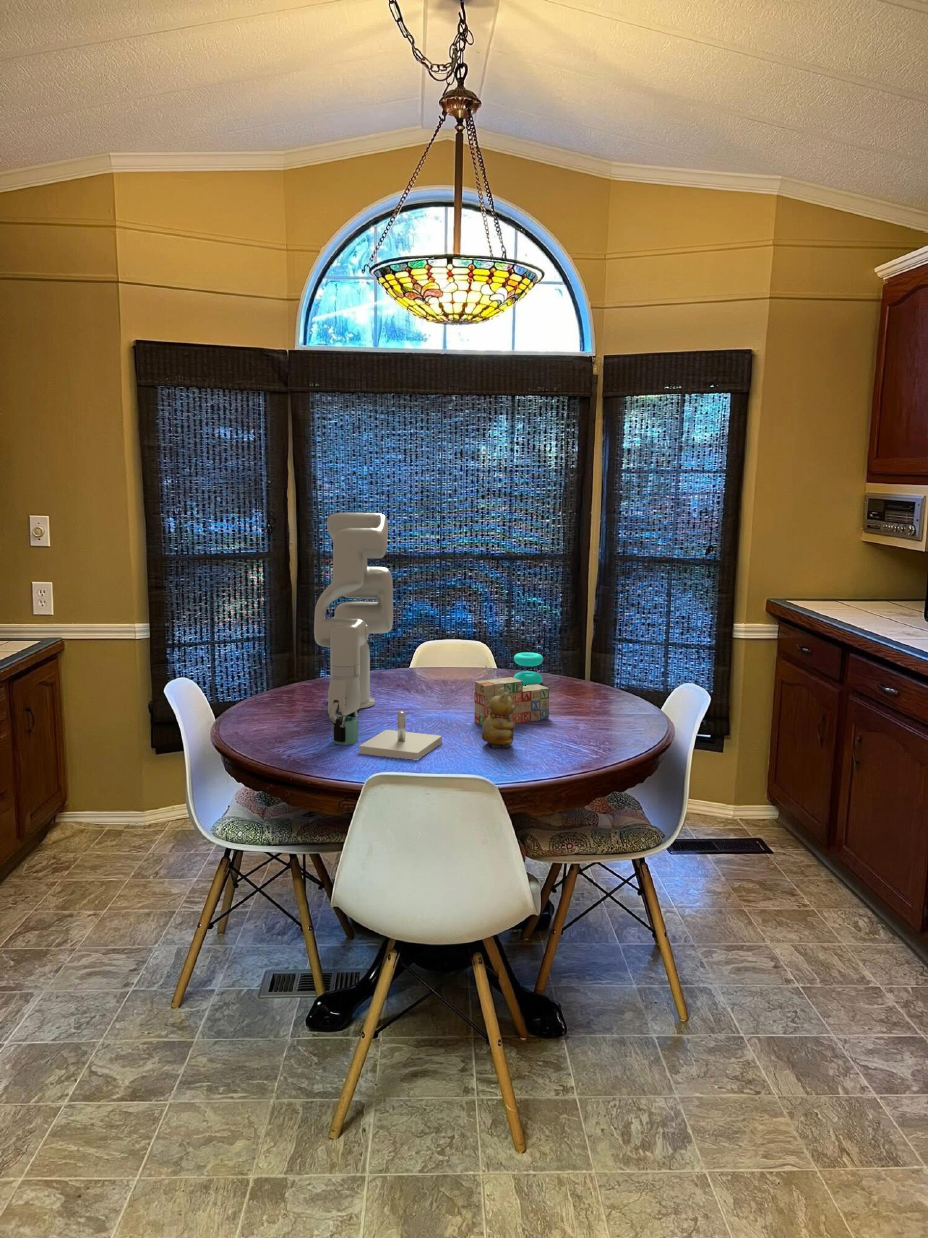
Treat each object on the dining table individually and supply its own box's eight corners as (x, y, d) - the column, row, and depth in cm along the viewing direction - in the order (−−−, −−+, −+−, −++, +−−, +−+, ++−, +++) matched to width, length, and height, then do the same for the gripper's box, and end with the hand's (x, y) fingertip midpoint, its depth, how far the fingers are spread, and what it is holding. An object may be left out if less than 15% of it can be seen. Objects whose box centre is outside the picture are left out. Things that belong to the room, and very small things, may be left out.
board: (359, 753, 225) (359, 716, 224) (386, 736, 240) (386, 702, 239) (417, 760, 220) (417, 723, 218) (441, 743, 235) (442, 708, 233)
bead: (330, 743, 234) (329, 721, 233) (341, 737, 239) (340, 715, 238) (350, 745, 232) (350, 723, 231) (361, 739, 237) (361, 717, 236)
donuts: (542, 657, 299) (512, 656, 300) (541, 687, 300) (512, 685, 302) (544, 652, 309) (515, 651, 310) (543, 680, 310) (514, 679, 311)
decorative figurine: (518, 749, 230) (519, 692, 228) (488, 751, 228) (489, 694, 226) (506, 739, 239) (507, 684, 237) (476, 741, 237) (477, 685, 235)
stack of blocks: (537, 714, 265) (538, 673, 264) (549, 719, 260) (550, 678, 258) (473, 722, 256) (474, 680, 254) (484, 728, 250) (484, 685, 248)
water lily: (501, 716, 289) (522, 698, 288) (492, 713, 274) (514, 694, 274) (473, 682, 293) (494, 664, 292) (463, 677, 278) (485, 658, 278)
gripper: (347, 663, 242) (348, 728, 245) (315, 676, 226) (316, 745, 229) (372, 665, 239) (373, 731, 242) (342, 679, 223) (343, 748, 226)
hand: (345, 737), depth 235 cm, fingers closed on bead, 6 cm apart
